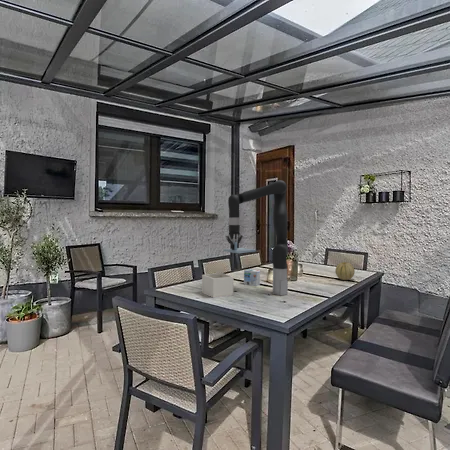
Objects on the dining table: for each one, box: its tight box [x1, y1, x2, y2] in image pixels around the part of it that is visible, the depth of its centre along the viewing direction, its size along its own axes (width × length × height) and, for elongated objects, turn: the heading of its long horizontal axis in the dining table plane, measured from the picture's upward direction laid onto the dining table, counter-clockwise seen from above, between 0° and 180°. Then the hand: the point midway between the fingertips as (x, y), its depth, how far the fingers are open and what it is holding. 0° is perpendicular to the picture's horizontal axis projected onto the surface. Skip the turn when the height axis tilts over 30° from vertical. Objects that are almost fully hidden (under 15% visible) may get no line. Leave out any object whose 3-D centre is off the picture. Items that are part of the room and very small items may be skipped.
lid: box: [223, 242, 257, 254], centre depth 232 cm, size 16×16×7 cm
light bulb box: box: [243, 268, 261, 287], centre depth 251 cm, size 11×7×11 cm, turn 62°
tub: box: [201, 272, 234, 299], centre depth 221 cm, size 15×15×12 cm
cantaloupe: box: [335, 261, 356, 281], centre depth 273 cm, size 15×15×15 cm
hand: (234, 249), depth 229 cm, fingers closed on lid, 1 cm apart
